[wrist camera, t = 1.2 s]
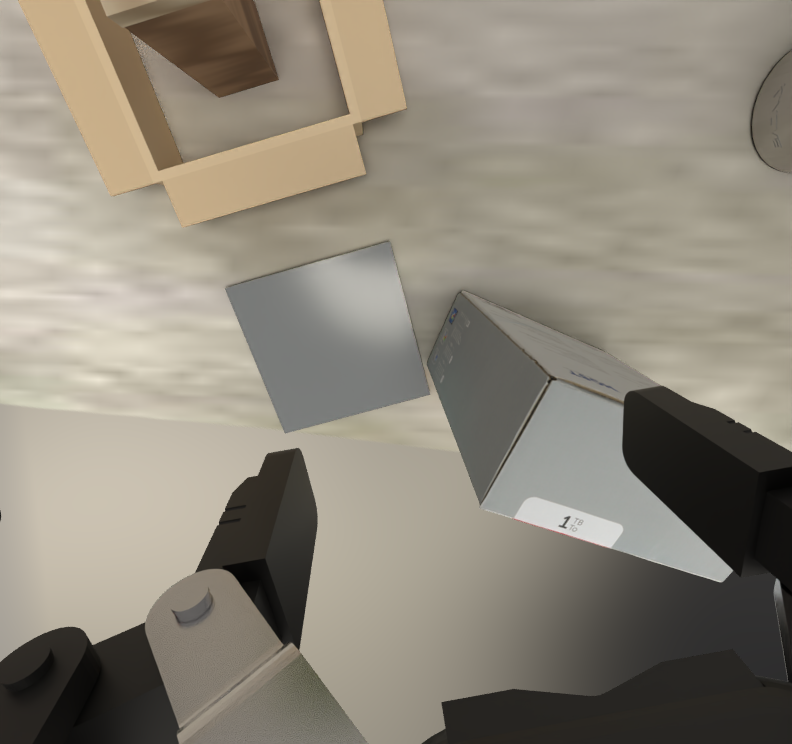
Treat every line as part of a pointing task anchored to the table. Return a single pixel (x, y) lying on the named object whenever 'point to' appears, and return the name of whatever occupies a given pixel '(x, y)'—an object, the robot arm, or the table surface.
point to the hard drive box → (553, 435)
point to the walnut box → (202, 39)
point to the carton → (230, 170)
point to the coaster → (332, 337)
